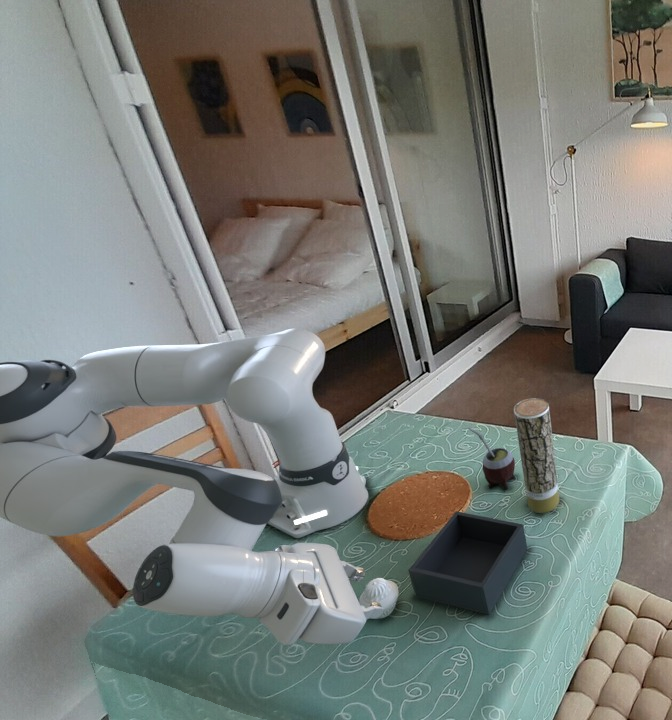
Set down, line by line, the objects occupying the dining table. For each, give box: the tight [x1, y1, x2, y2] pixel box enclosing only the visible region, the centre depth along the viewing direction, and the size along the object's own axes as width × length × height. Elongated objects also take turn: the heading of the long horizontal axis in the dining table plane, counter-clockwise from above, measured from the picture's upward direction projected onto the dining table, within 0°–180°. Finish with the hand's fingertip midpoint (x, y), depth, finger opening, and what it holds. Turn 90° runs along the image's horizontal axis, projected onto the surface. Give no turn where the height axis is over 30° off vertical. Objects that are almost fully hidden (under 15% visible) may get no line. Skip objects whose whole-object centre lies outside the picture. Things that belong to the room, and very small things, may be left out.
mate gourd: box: [467, 426, 516, 491], centre depth 113 cm, size 8×8×15 cm
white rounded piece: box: [358, 577, 399, 620], centre depth 85 cm, size 6×6×7 cm
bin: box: [407, 510, 528, 616], centre depth 92 cm, size 15×15×7 cm
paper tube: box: [513, 397, 560, 514], centre depth 104 cm, size 7×7×25 cm
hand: (371, 592), depth 84 cm, fingers open, 8 cm apart
